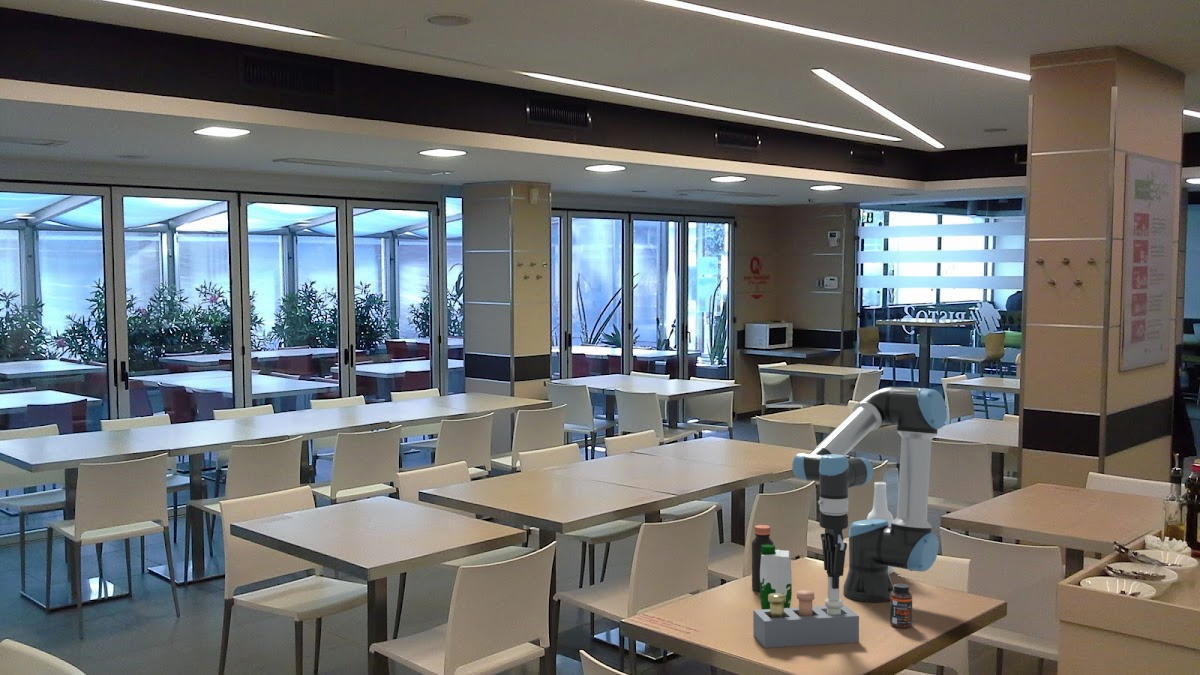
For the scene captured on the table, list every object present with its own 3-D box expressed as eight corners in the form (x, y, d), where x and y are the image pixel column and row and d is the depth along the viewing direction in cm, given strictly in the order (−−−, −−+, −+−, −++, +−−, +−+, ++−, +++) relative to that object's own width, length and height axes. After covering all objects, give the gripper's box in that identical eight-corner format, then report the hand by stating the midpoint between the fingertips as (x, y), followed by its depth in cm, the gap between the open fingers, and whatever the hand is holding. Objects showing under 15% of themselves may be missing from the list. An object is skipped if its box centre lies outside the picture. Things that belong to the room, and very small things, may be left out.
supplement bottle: (896, 629, 277) (896, 588, 277) (886, 622, 283) (886, 583, 283) (916, 628, 278) (916, 587, 278) (905, 621, 284) (905, 581, 284)
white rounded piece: (838, 623, 274) (838, 597, 274) (845, 629, 269) (845, 602, 269) (822, 624, 273) (822, 598, 273) (829, 630, 269) (828, 603, 268)
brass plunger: (782, 619, 272) (782, 592, 271) (788, 624, 267) (787, 597, 267) (766, 620, 271) (765, 593, 271) (771, 625, 266) (771, 598, 266)
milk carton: (760, 608, 297) (760, 541, 296) (791, 610, 295) (791, 542, 295) (759, 618, 288) (759, 548, 288) (791, 619, 287) (791, 550, 286)
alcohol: (878, 576, 331) (878, 486, 330) (861, 570, 339) (861, 481, 338) (899, 573, 334) (899, 483, 334) (881, 567, 342) (881, 479, 341)
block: (844, 629, 277) (844, 604, 277) (859, 641, 267) (859, 615, 267) (753, 635, 273) (753, 610, 273) (764, 647, 263) (764, 621, 263)
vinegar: (751, 591, 315) (750, 528, 314) (752, 586, 321) (752, 523, 321) (773, 593, 313) (772, 529, 312) (774, 587, 320) (773, 524, 319)
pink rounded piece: (810, 616, 273) (810, 589, 272) (816, 621, 268) (816, 594, 268) (794, 617, 272) (794, 590, 272) (800, 622, 267) (800, 595, 267)
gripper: (811, 508, 276) (811, 593, 277) (829, 518, 263) (829, 607, 264) (837, 507, 277) (837, 592, 278) (856, 517, 264) (856, 605, 265)
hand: (833, 599), depth 271 cm, fingers closed
